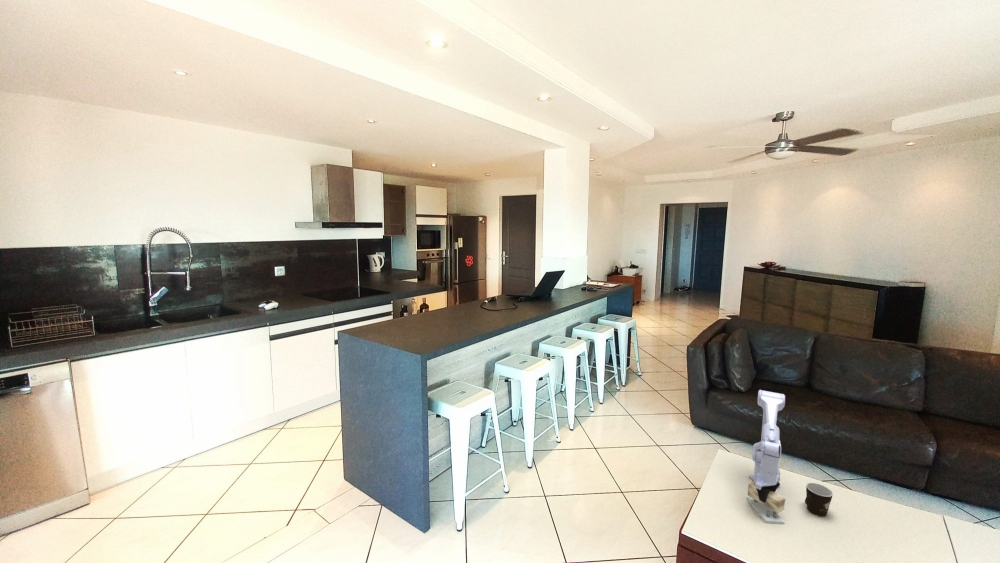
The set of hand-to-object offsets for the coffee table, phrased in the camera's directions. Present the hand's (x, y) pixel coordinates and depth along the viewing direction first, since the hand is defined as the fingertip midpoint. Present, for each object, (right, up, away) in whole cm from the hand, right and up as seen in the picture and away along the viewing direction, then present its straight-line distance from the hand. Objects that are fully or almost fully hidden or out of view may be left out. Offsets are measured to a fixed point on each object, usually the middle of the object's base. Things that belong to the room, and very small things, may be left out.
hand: (765, 499), depth 162 cm
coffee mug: (+20, -6, +1) cm, 21 cm away
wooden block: (0, -1, 0) cm, 1 cm away
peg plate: (0, -5, +1) cm, 5 cm away
